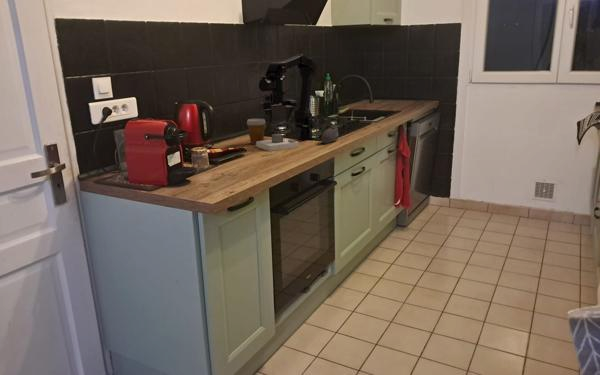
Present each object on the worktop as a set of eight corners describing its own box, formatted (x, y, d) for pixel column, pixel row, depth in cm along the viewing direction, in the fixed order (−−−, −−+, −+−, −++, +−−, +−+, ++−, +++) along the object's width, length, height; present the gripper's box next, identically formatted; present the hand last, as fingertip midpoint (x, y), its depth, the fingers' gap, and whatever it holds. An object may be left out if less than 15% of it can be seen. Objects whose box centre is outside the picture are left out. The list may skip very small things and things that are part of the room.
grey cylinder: (279, 145, 242) (278, 133, 241) (283, 147, 239) (282, 134, 237) (272, 146, 240) (271, 134, 239) (276, 148, 237) (275, 135, 235)
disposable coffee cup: (269, 141, 252) (268, 118, 249) (262, 145, 243) (261, 121, 240) (251, 141, 255) (250, 118, 251) (244, 144, 246) (243, 121, 243)
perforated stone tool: (326, 145, 241) (326, 131, 239) (317, 144, 244) (317, 130, 242) (341, 140, 253) (341, 126, 251) (332, 139, 256) (332, 126, 254)
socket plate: (284, 142, 249) (284, 136, 248) (298, 147, 238) (298, 140, 237) (256, 146, 241) (256, 139, 240) (270, 151, 230) (269, 144, 229)
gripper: (285, 87, 245) (286, 118, 250) (252, 90, 236) (254, 122, 240) (297, 88, 236) (298, 121, 241) (263, 91, 227) (264, 125, 231)
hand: (278, 122), depth 238 cm, fingers open, 9 cm apart
